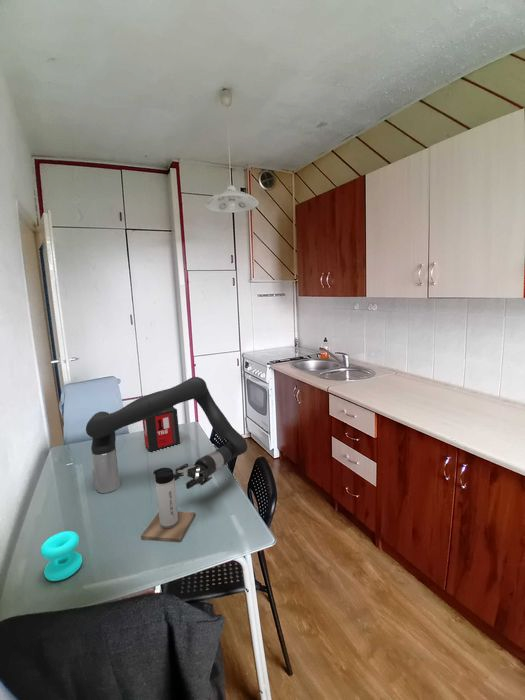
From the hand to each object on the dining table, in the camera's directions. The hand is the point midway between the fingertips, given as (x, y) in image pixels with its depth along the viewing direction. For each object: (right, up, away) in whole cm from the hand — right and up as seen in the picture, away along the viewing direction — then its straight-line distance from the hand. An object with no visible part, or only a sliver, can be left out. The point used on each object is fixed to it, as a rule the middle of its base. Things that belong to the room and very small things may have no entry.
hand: (178, 483), depth 125 cm
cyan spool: (-30, -19, -20) cm, 40 cm away
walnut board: (-3, -14, -2) cm, 15 cm away
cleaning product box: (-24, -5, +66) cm, 70 cm away
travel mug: (-3, -13, -2) cm, 14 cm away
